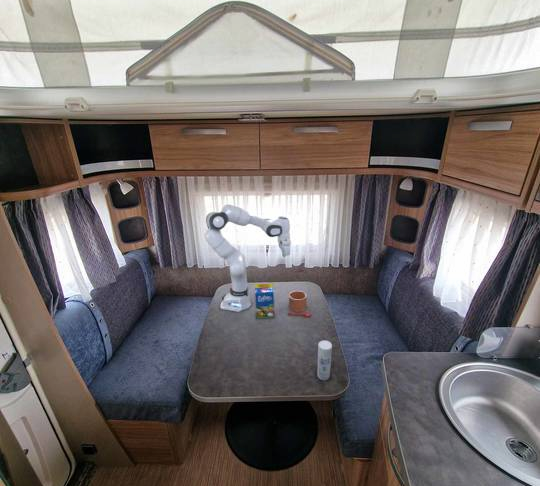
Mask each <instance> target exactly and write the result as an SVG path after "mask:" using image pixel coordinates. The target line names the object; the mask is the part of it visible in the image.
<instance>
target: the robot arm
mask: <svg viewBox="0 0 540 486" xmlns="http://www.w3.org/2000/svg"><path fill="white" fill-rule="evenodd" d="M205 223H206V227H207V230H206V231H205V232H204V239H205V241H206V242H207V244H208V245H209V246H210V248H211V249H212V250H213V251H214V252H215V253H216V254H217V255H218V256H219V258H221V259H224V260H225V261H226V262H228V265H229V267H228V268H229V276H230V280H231V281H230V282H231V286H230V288H229V290H228V291H229V292H228V293H226V294H225V293H224V295H223V296H221V300H222V301H221V302H220V306H219V307H220V310H226V311H231V312H237V313H240V312H242V311H244V310H248V309H249V308H250V307H251V306H252V302H251V299H250V295H249V294H250V290H249V286H248V277H247V276H248V275H247V264H246V262H247V261H246V256H245V255H244V253H242V251H240V250H238V249H237V248H236V247H234V246H233V244H231V242H230V241H229V240H228V239H227V238H226V237H225V236H224V234H223V233H222V232H221V230H223V229H224V228H225V227H226V225H227V224H228V223H232V224H233V225H234V224H235V225H237V226H240V227H241V226H242V227H246V226H247V225H252V226H256V227H258V228H260V229H261V230H262V231H263V232H264V233H265V234H266V235H267V237H270V238H276V237H277V243H278V248H279V249H280V250H281V254H282V257H283V258H286V257H287V256H290V254H291V245H292V241H291V234H290V229H291V228H290V227H291V225H290V220H289V218H288V217H286V216H283V215H282V216H278V217H277V218H276V219H275V220H273V219H272V218H262V217H259V216H257V215H253V214H252V213H250V212H249V211H247V210H246V209H243V208H241V207H239V206H237V205H232V204H224V206H223V207H222V208H221V211H219V212H218V211H212V212H209V213H207V215H206V218H205Z"/></svg>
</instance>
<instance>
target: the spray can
mask: <svg viewBox="0 0 540 486" xmlns="http://www.w3.org/2000/svg"><path fill="white" fill-rule="evenodd" d="M317 346H318V347H317V373H316V376H317V377H318V379H320V380H321V381H327V380H329V379H330V376H331V365H332V351H333V344H332V342H330V341H329V340H326V339H325V340H320V341H319V342H318V345H317Z"/></svg>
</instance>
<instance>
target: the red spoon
mask: <svg viewBox="0 0 540 486" xmlns="http://www.w3.org/2000/svg"><path fill="white" fill-rule="evenodd" d="M287 315H288V316H302V317H303V316H304V317H305V318H310V317H311V313H310V312H305V313H300V312H288V313H287Z"/></svg>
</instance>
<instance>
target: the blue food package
mask: <svg viewBox="0 0 540 486" xmlns="http://www.w3.org/2000/svg"><path fill="white" fill-rule="evenodd" d="M274 295H275V294H274V283H256V284H254V299H255V312H256V313H255V314H256V319H272V318H275V297H274Z"/></svg>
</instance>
